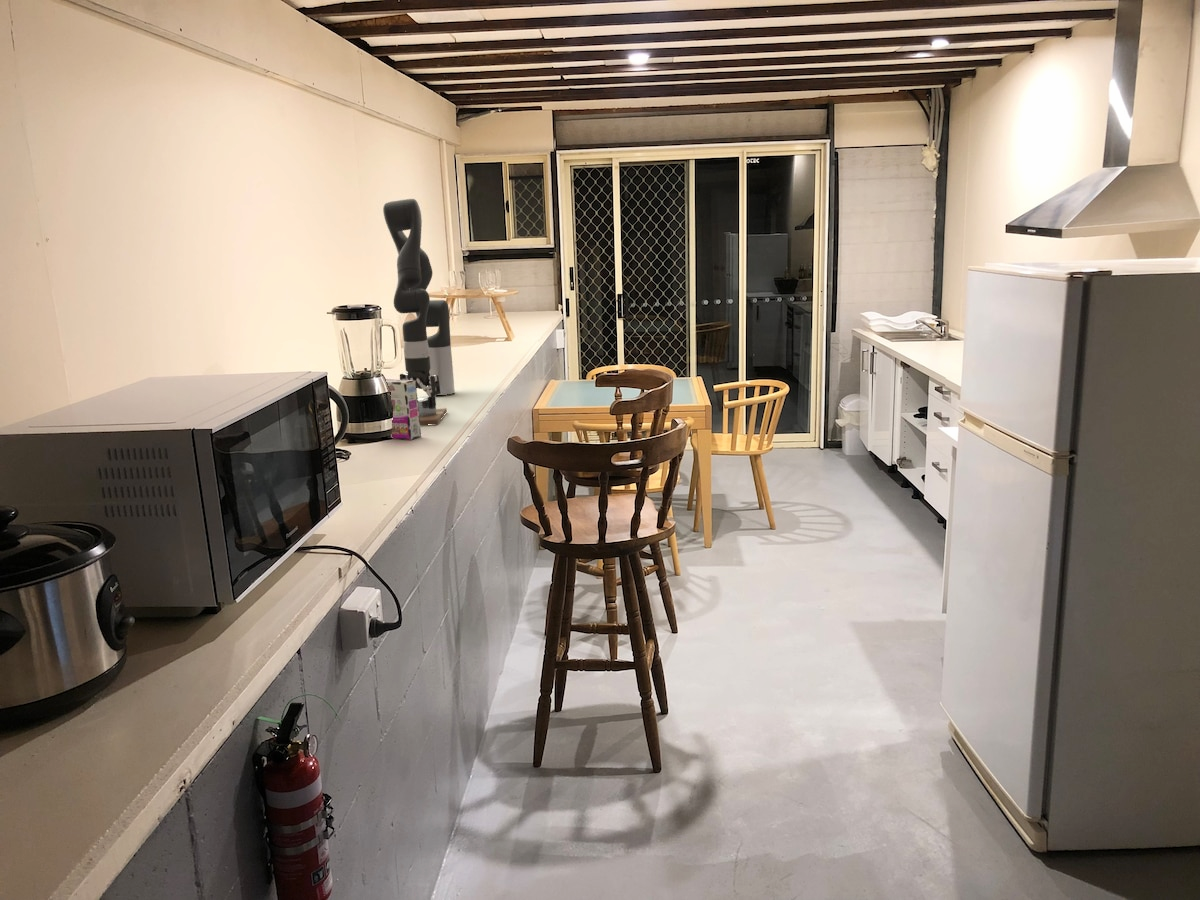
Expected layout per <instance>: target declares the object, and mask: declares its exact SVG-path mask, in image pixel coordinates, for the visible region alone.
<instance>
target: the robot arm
mask: <svg viewBox="0 0 1200 900" xmlns="http://www.w3.org/2000/svg"><path fill="white" fill-rule="evenodd" d="M382 209H383V210H382V211H383V217H384V221H385V224H386V226H387V229H388V232H389V234H390V236H391V239H392V241H393V244H394V246H395V249H396V251H397V254H398V255H397V258H396V259H397V260H396V268H397V284H396V290H395V293H394V297H393V306H394V309H395V311H396V312H398V313H399V314H415V315H416V318H414V319H412V320H408V321H404V322H403V323H402V328H401V329H402V336H403V355H404V366H405V371H406V372H405V373H400V374H399V380H416V389H421V390H423V392H425V393H426V394H427V396H428V404H429V409H434V408H435V406H437V401H436V399H437V398H436V397H437V396H436V395H446V396H448V395H447V394H451V395H453V394H452V393H454V392H455V393H456V390H455V380H454V369H453V368H454V367H453V357H452V356H453V355H452V346H451V345H452V344H451V328H450V307H449V305H448V304H449V303H448V302H447V301H446V300H444V299H433V300H431V299H430V295H429V293H428V291H427V289H428V286H429V285H430V283H431V280H432V279H433V278H432V277H433V268H432V265H431V261H430V259H429V256H428V254H427V253H426V252H425V250H424V249H422V247H421V241H422V223H423V222H422V211H421V209H420V205H419V202H418V201H417V200H416V199H415V198H408V199H399V200H392V201H388V202H386V203H384V205H383V208H382ZM404 231H409V234H408V236H407V235H406V234H405V233H404ZM434 327H435V328H438V331H437V332H436V333H435V334H432V335H430V336H428V335H427V328H434ZM455 393H454V394H455Z"/></svg>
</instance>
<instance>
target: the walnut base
mask: <svg viewBox="0 0 1200 900" xmlns="http://www.w3.org/2000/svg"><path fill="white" fill-rule="evenodd" d="M446 412H447V408H445V407H443V408H436V414H433V415H430V416H427V417H419V420H420V425H426V426H429V425H428V424H438V423H440V422H441V421H442V420H441V418H442V417H443V416H444V414H445V413H446ZM446 414H447V413H446ZM444 417H445V416H444ZM444 417H443V418H444ZM440 420H441V421H440ZM439 421H440V422H439ZM438 425H439V424H438Z"/></svg>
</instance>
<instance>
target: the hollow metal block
mask: <svg viewBox="0 0 1200 900" xmlns="http://www.w3.org/2000/svg"><path fill="white" fill-rule="evenodd" d="M428 397H429V396H428ZM428 397H427V396H417V399H419V398H427V399H426V400H422V401H420V400H418V410H419V417H427V416H430V415H433V414H436V409H437V407H436V406H437V405H436V406H435V408H434V409H429V404H428Z"/></svg>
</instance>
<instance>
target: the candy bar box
mask: <svg viewBox="0 0 1200 900" xmlns="http://www.w3.org/2000/svg"><path fill="white" fill-rule="evenodd" d="M386 382H387V383H388V386H389V389H390V392H391V395H390V396H391V401H392V405H393V420H392V437H393V438H394V440H404V439H407V440H406V441H412V440H415V439H418V437H419V438H421V437H422V431H421V426H420V420H419V410H418V400H417V397H418V391H417V390H418V388H416V380H400V379H388V378H386ZM386 387H387V385H386ZM387 389H388V387H387ZM388 392H389V390H388Z"/></svg>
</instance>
